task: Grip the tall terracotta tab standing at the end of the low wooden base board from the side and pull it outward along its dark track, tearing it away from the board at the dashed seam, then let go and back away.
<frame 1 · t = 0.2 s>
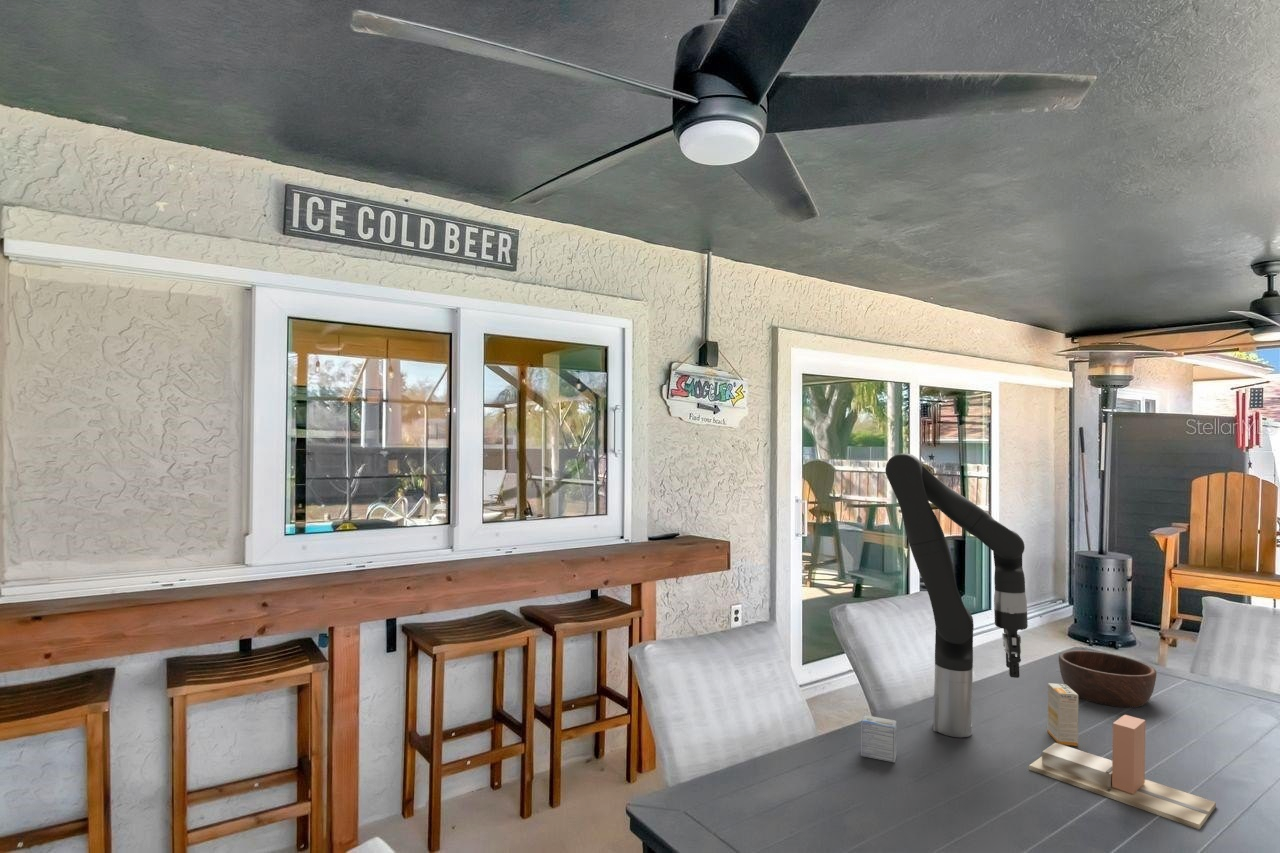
hand: (1012, 672, 181), 18 cm above the table, tool pointing down, fingers open, 8 cm apart
medicine box: (878, 757, 171), on the table
wooden bowl: (1105, 696, 216), on the table
wooden base board: (1128, 790, 157), on the table
tear-off tab: (1128, 753, 157), point 8 cm above the table, slide at 0.0 cm
supplement box: (1062, 739, 184), on the table
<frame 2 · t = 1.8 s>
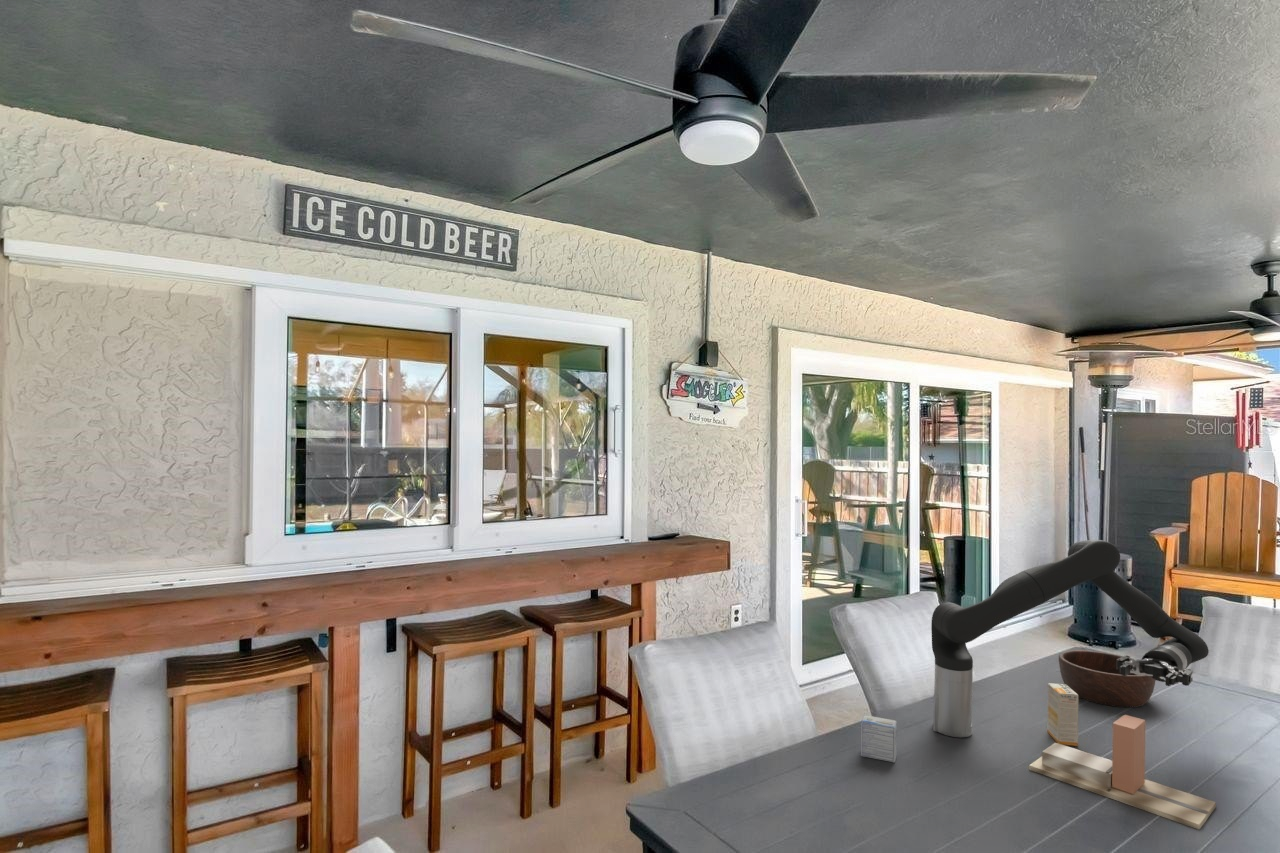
hand: (1145, 676, 164), 23 cm above the table, tool horizontal, fingers open, 8 cm apart
nothing on the table moved.
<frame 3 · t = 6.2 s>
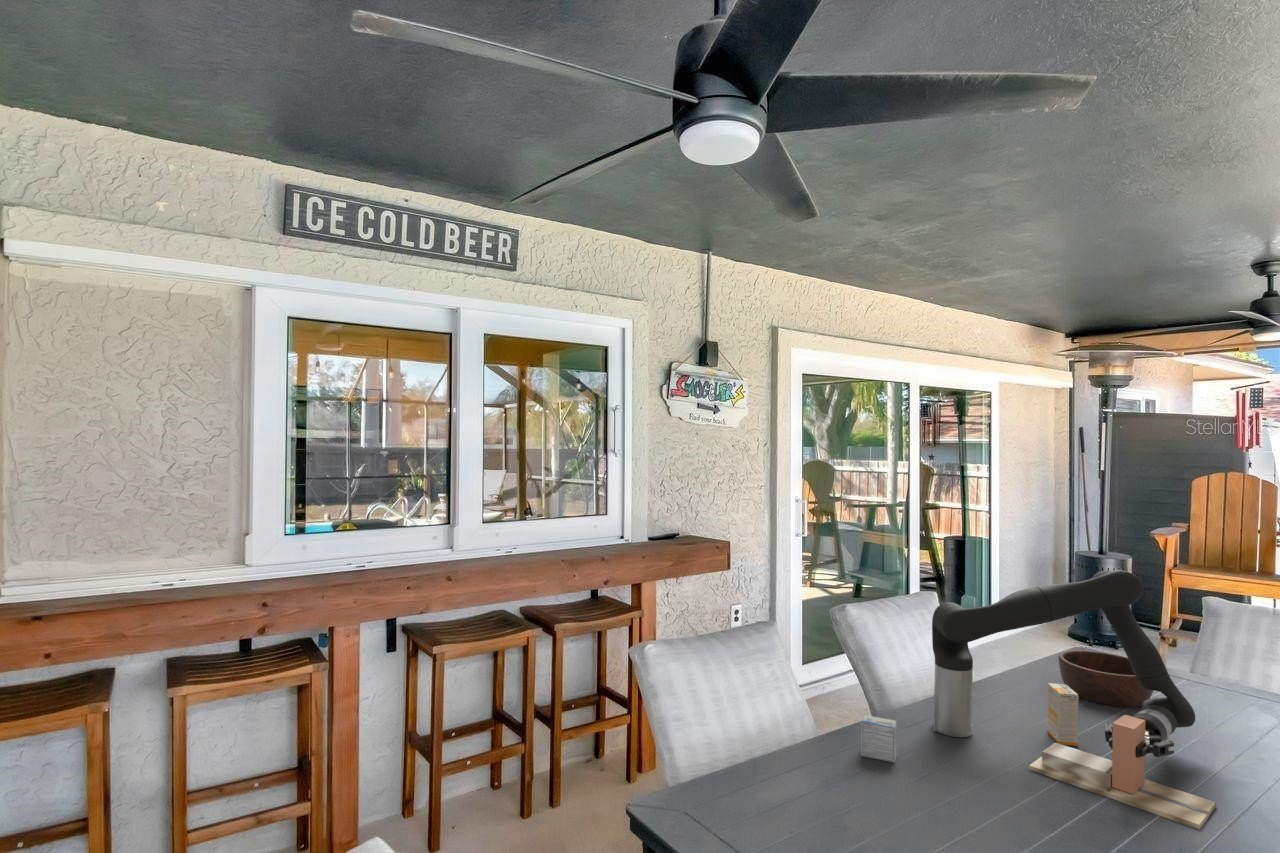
hand: (1125, 749, 155), 10 cm above the table, tool horizontal, fingers closed on tear-off tab, 4 cm apart
tear-off tab: (1128, 753, 157), point 8 cm above the table, slide at 0.0 cm, touching gripper
everything else where it was.
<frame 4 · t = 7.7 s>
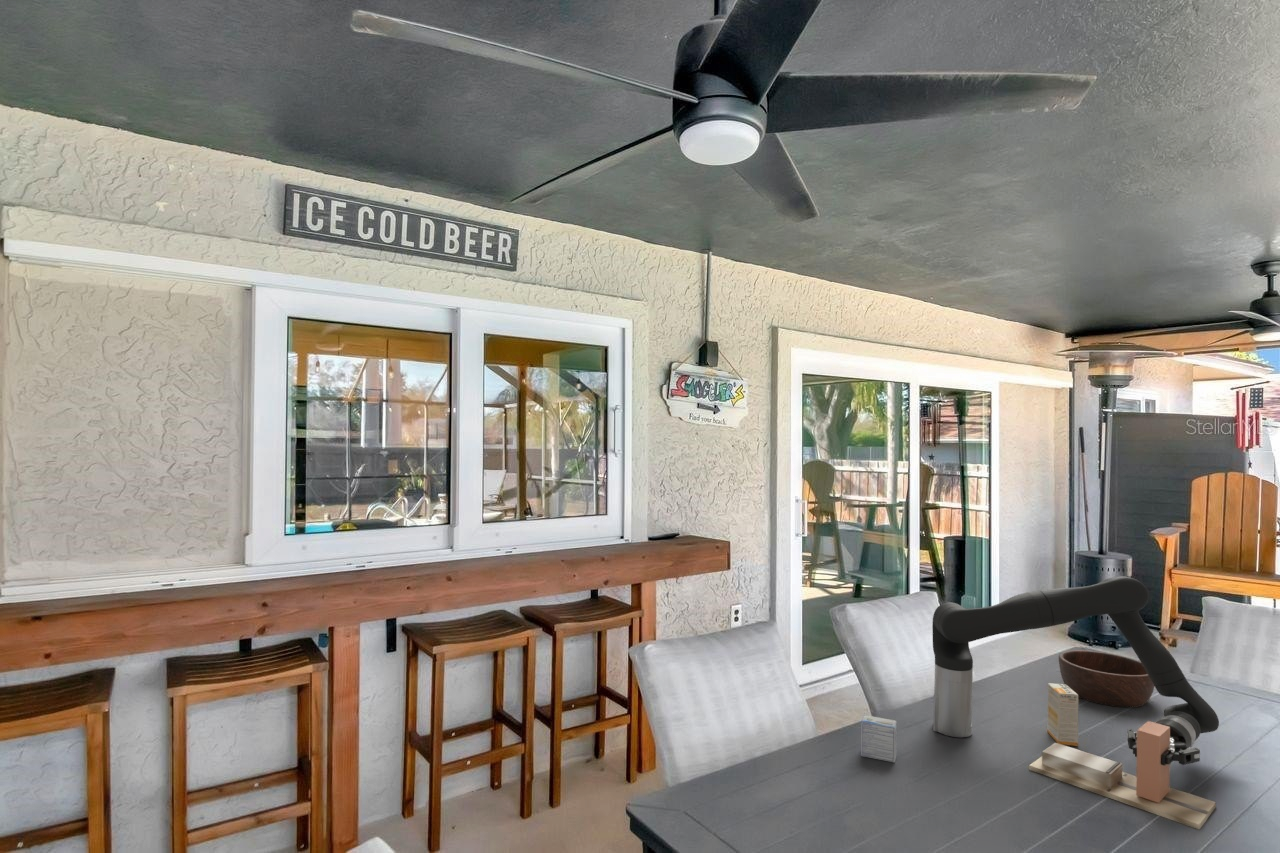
hand: (1149, 756, 152), 10 cm above the table, tool horizontal, fingers closed on tear-off tab, 4 cm apart
tear-off tab: (1153, 760, 153), point 8 cm above the table, slide at 4.5 cm, touching gripper
everything else where it was.
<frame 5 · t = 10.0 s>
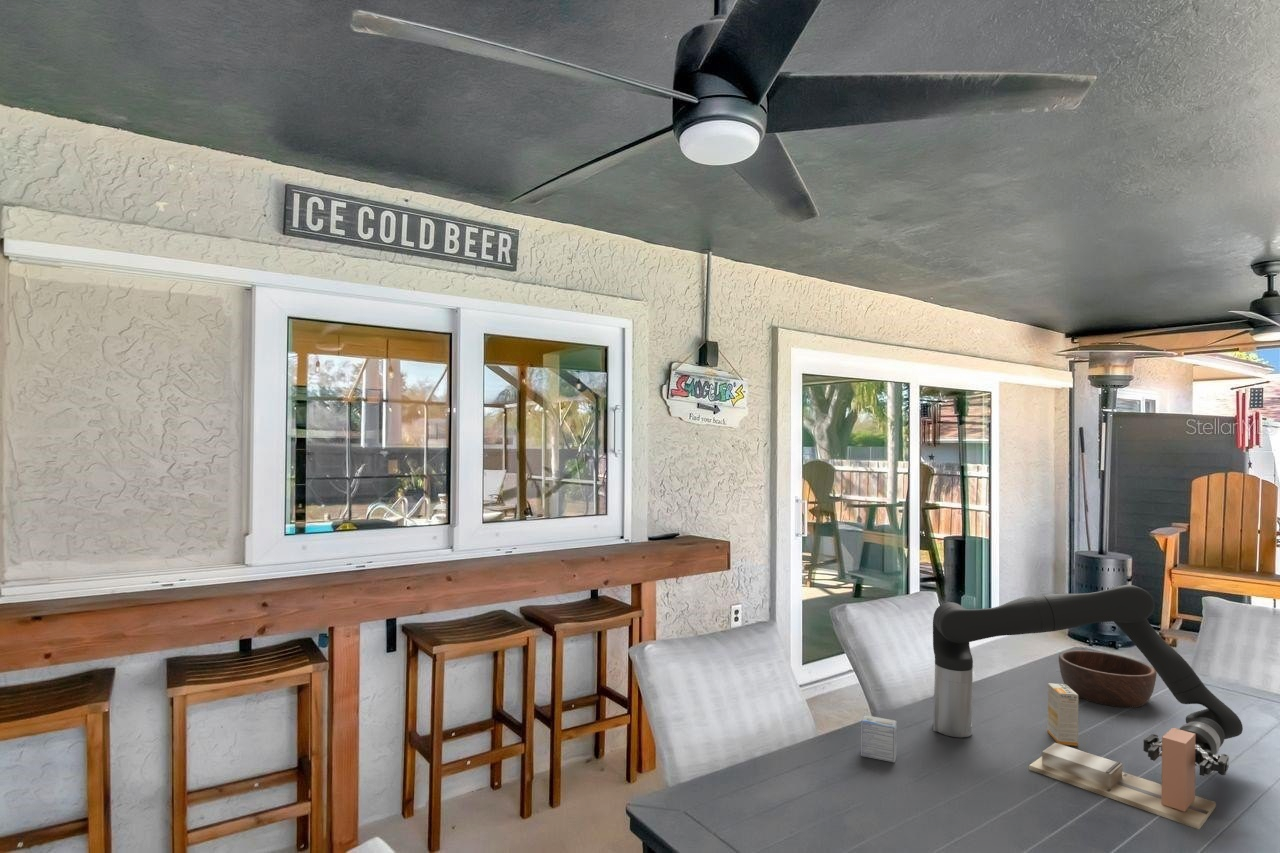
hand: (1176, 763, 149), 10 cm above the table, tool horizontal, fingers open, 8 cm apart
tear-off tab: (1178, 768, 150), point 8 cm above the table, slide at 9.0 cm
everything else where it was.
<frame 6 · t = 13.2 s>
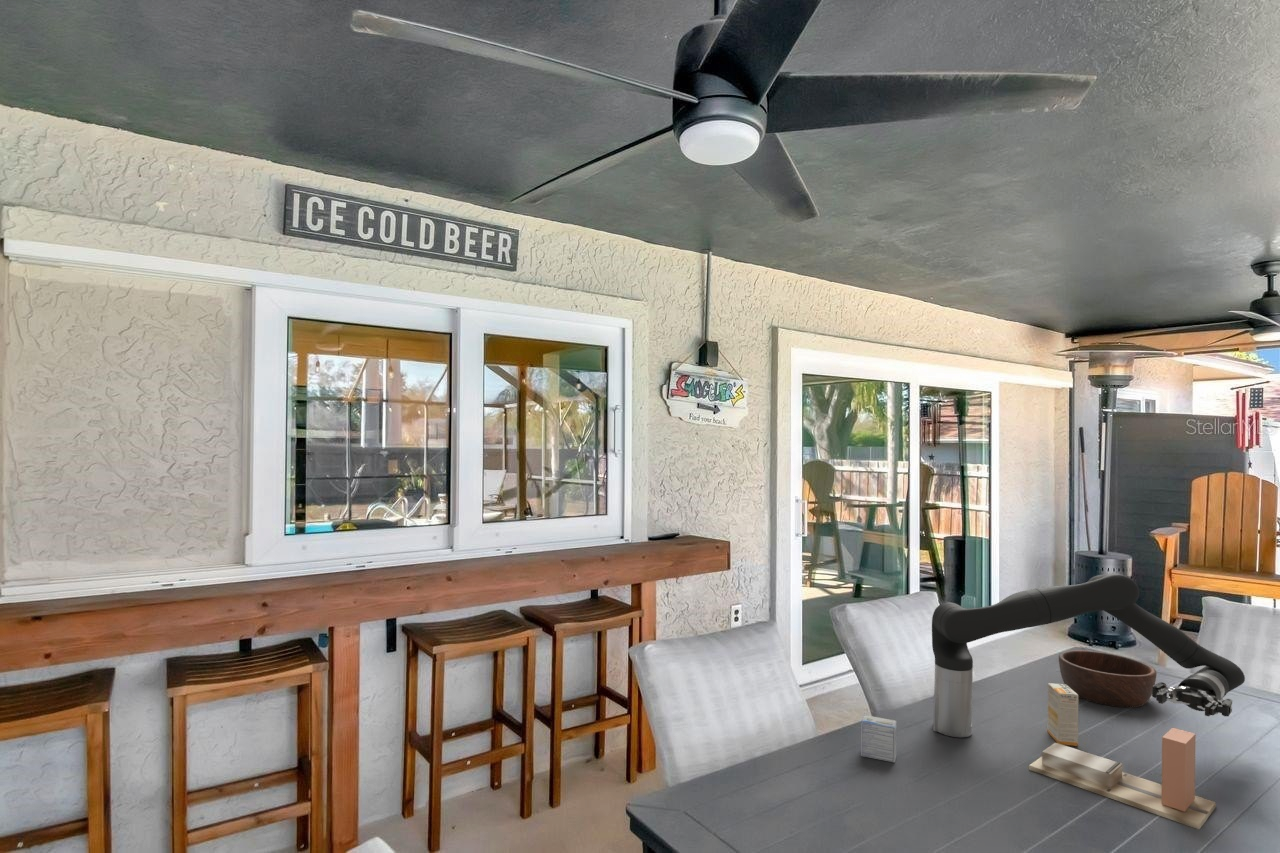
hand: (1183, 705, 159), 18 cm above the table, tool horizontal, fingers open, 8 cm apart
nothing on the table moved.
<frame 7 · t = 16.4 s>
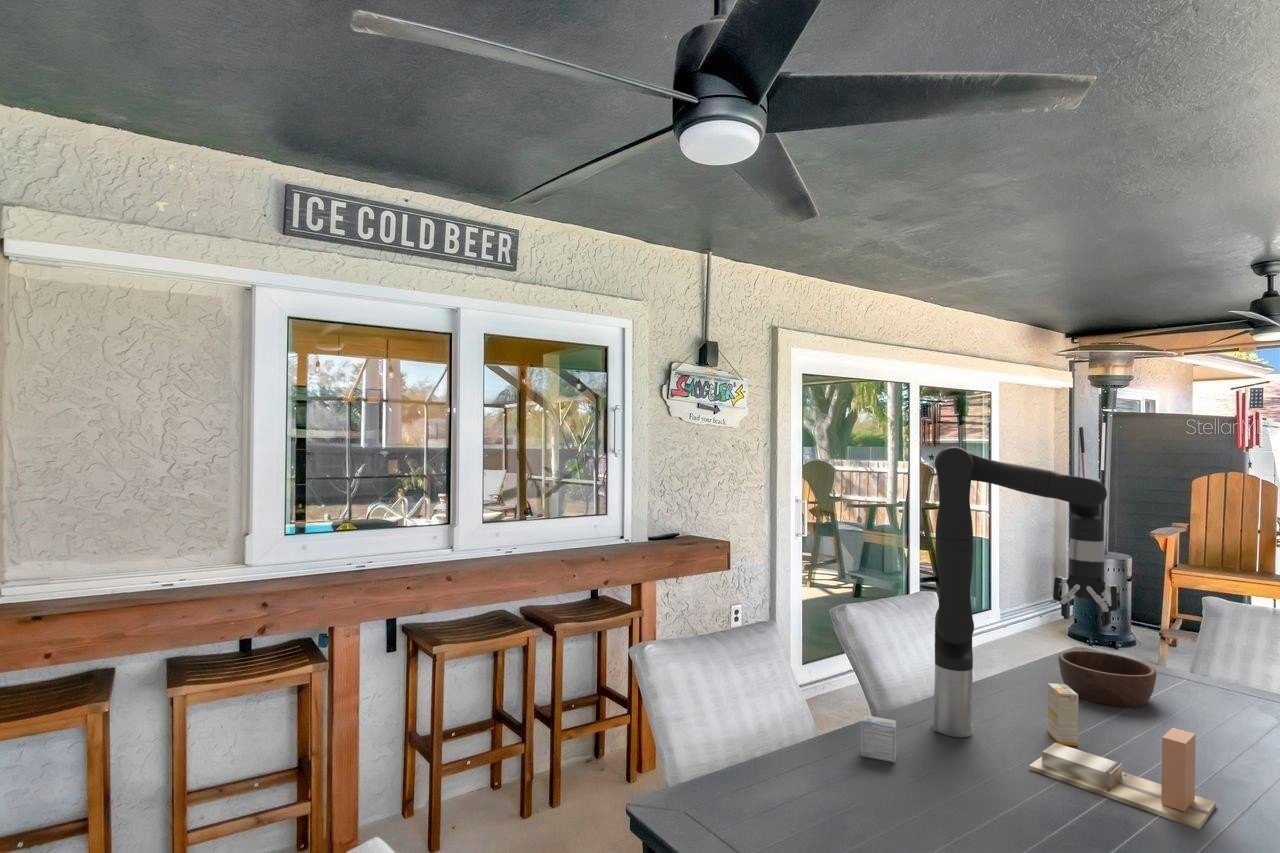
hand: (1085, 622, 177), 32 cm above the table, tool pointing down, fingers open, 8 cm apart
nothing on the table moved.
at the end: tear-off tab slide at 9.0 cm; the gripper is holding nothing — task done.
